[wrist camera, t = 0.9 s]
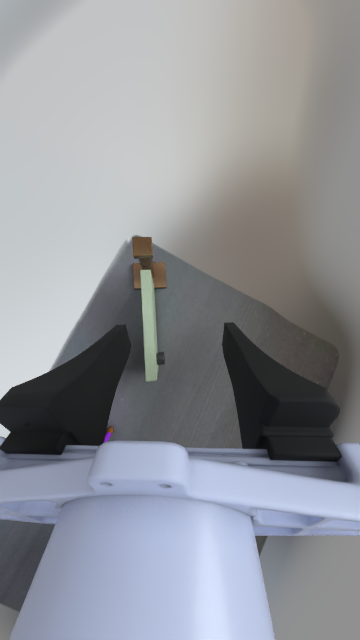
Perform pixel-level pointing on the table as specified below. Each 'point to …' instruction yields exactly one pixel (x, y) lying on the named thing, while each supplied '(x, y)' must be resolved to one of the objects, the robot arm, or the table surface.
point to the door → (150, 327)
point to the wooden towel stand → (147, 263)
